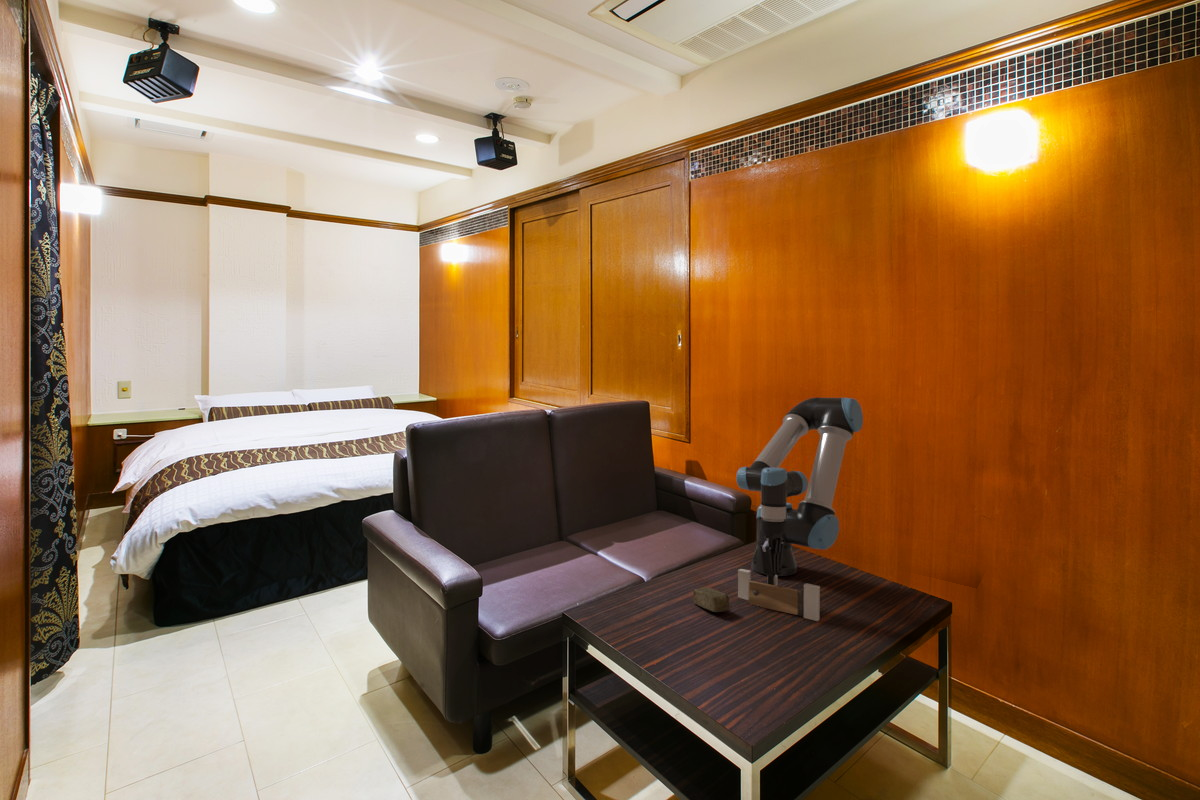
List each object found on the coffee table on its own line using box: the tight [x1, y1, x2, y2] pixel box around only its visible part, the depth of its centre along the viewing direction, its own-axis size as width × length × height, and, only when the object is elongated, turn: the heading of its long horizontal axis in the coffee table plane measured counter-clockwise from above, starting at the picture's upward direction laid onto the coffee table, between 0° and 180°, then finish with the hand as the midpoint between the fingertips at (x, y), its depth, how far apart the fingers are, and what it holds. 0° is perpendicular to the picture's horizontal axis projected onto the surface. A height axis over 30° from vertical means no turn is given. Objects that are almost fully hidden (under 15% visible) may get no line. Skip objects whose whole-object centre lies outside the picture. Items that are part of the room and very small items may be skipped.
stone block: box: [692, 586, 730, 613], centre depth 176 cm, size 6×12×5 cm, turn 27°
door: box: [748, 580, 804, 617], centre depth 174 cm, size 3×16×7 cm, turn 56°
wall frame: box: [737, 568, 821, 622], centre depth 175 cm, size 2×25×10 cm, turn 49°
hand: (772, 596), depth 178 cm, fingers closed
